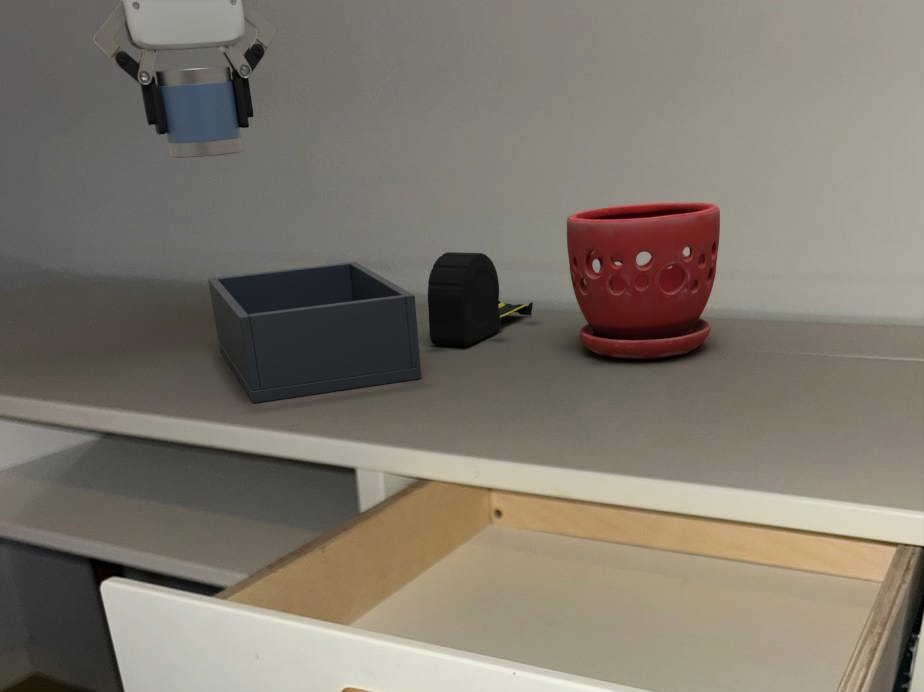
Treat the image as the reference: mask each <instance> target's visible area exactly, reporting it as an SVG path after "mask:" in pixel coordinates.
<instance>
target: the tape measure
mask: <svg viewBox="0 0 924 692" xmlns="http://www.w3.org/2000/svg"><path fill="white" fill-rule="evenodd" d="M427 284H428V285H427V305H428V308H427V309H428V326H429V328H428V329H429V338H430V339H429V340H430V342H431V344H433V345H444V346H456V347H457V346H459V347H460V346H461V347H469V346H471V345H473V344H474V343H477V342H478V341H480V340H483V339H484V338H487V337H491V336H494V335H496V334H498V333H499V332H500V331H501V328H502V324H501V323H502V322H501V318H503V317H505V316H507V315H512V314H513V313H518V314H519V315H520V316H532V312H533V306H534V303H533V302H529V304H528V303H525V304H523V303H518V304H512V303H506V302H505V303H504V302H501V301H500V282H499V277H498V272H497V268H496V267H495V264H494V262H493V260H492V259H491V258H490V257H489V256H488V255H487V254H485V253H482V252H460V251H459V252H458V251H457V252H455V251H448V252H447V251H446V252H444V253H443V254H441V255H439V257H438V258H437V259H436V260H435V261H434V264H433V265H432V269H431V270H430V273H429V277H428V281H427Z"/></svg>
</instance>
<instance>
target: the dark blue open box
mask: <svg viewBox="0 0 924 692" xmlns="http://www.w3.org/2000/svg"><path fill="white" fill-rule="evenodd" d="M207 281H208V287H209V293H210V299H211V304H212V305H211V306H212V311H213V317H214V322H215V329H216V334H217V339H218V346H219V352H220V353H221V355H222V356H223V358H224V359H225V361H226V363H227V364H228V366H229V368H230V369H231V370H232V372H233V374H234V375H235V376H236V379H237V380H238V381H239V383H240V385H241V387H243V389H244V391H245V393H246V394H247V396H248V397H249V399H250V400H251V402H252V404H258V403H265V402H272V401H278V400H285V399H292V398H298V397H299V398H300V397H305V396H306V397H307V396H312V395H319V394H326V393H332V392H333V393H334V392H339V391H346V390H353V389H360V388H367V387H374V386H379V385H380V386H381V385H387V384H394V383H400V382H407V381H414V380H415V381H416V380H421V379H422V369H421V357H420V345H419V344H420V343H419V332H418V320H417V308H416V296H415V295H414V294H413V293H411V292H409V291H408V290H406V289H405V288H402V287H400V286H399V285H397V284H395V283H393V282H392V281H390V280H388V279H386V278H385V277H383V276H381V275H380V274H378V273H376V272H374V271H373V270H371V269H369V268H368V267H366V266H364V265H362V264H361V263H359V262H357V261H350V262H341V263H332V264H323V265H314V266H306V267H298V268H287V269H279V270H270V271H262V272H254V273H253V272H251V273H244V274H235V275H228V276H217V277H210V278H207Z"/></svg>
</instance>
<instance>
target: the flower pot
mask: <svg viewBox="0 0 924 692" xmlns="http://www.w3.org/2000/svg"><path fill="white" fill-rule="evenodd" d="M720 233H721V209H720V207H719V206H718V205H716V204H714V203H707V202H658V203H642V204H641V203H639V204H630V205H629V204H627V205H617V206H608V207H601V208H594V209H589V210H584V211H579V212H575V213H573V214H570V215H569V216H568V217H567V218H566V245H567V246H566V248H567V254H568V255H567V256H568V264H569V275H570V280H571V284H572V289H573V292H574V296H575V298H576V302H577V304H578V307H579V309H580V312H581V313H582V315H583V317H584V320H585V321H586V322H587V324H585V325H583V327H581V329H580V331H579V339H580V341H581V343H582V344H583V345H584V346H585V347H586V348H587V349H588V350H590V351H591V352H593V353H594V354H595V353H596V354H597V356H599V357H609V358H610V357H611V358H618V359H626V360H627V359H628V360H646V359H649V360H650V359H651V360H652V359H660V358H668V357H674V356H678V355H681V356H682V355H688V354H689V352H690V351H693V350H694V349H696V348H697V347H699V346H700V345H702V344H703V342H705V341H706V339H707V338H708V336H709V335H710V333H711V323H710V322H709V321H707V320H705V319H703V318H701V316H702V314H703V313H704V310H705V308H706V306H707V304H708V301H709V299H710V297H711V294H712V290H713V287H714V283H715V279H716V275H717V274H716V273H717V262H718V254H719V245H720ZM686 248H688V249H689V254H687V255H685V254H684V253H683V252H684V251H685V249H686ZM643 252H645V253H649V255H650V258H649V260H648V261H647V262H646V263H643V264H638V262H637V258H638V255H639V254H640V253H643ZM595 260H597V261H598V262H599V270H598V272H596V271H595V269H594V266H593V264H594V261H595ZM617 263H620V264H617Z"/></svg>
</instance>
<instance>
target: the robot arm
mask: <svg viewBox="0 0 924 692" xmlns="http://www.w3.org/2000/svg"><path fill="white" fill-rule="evenodd" d="M246 23H247V24H248V25H249V26H251V27H252V28H253V29H254V30H255V36H254V39H253V41H252V42H251V44H250V45H249V46H248V48H247V49H246V51H245V52H244V53H243V52H242V50H241V49H240V46H239V45H238V44H239V43H240V42H241V41H242V40H243V39H244V38H245V36H246ZM123 27H124V29H125V34H126V38H127V41H128V42H129V44H130V46H132V47H133V48H135V49H138V50H139V51H140V54H139V58H138V61H137V60H136V59H134V58H133V57H132V56H131V55H130V54H129V53H127V51H125V50H124V49H123V48H122V47H121V46H120V45H119V44H118V42H116V37H117V34H119V32H120V31H121V30H122V28H123ZM277 33H278V28H277V26H276V25H275V24H274V23H272V21H271V20H270V19H268V18H267V17H266V16H264V14H262V13H261V12H260V11H259V10H258V9H256V8H255V7H254V6H253V5H252V4H251V3H250V2H248V1H247V0H119V4H117V6H116V8H114V10H113V11H112V12H111V14H110V15H109V16H108V18H107V19H106V20H105V22H104V23H103V24H102V25H101V27H100V28H99V29H98V30H97V31H96V33H95V34H94V36H93V42H94V43H95V45H96V46H97V47H98V48H99V49H100V50H101V51H102V52H104V54H106V55H107V56H108V57H109V58H110V59H111V61H113V62H114V63H115V64H116V65H117V66H118V67H119V68H120V69H122V70H123V71H124V72H125V73H126V74H127V75H128V76H129V77H131V78H132V79H133V80H134V81H135V82H136V83H137V84H138V85H140V90H141V95H142V96H141V97H142V101H143V105H144V106H143V107H144V111H145V117H146V122H147V125H148V126H153V125H154V127H155V133H156V134H157V135H166V132H167V126H166V121H165V115H164V110H163V104H162V98H161V93H160V87H159V86H158V85H157V81H156V76H154V73H155V69H156V64H157V60H158V56H159V54H160V52H165V51H181V50H197V49H198V50H199V49H213V48H214V49H215V48H218V50H219V51H220V53H221V55H222V56H223V58H224V59H225V61H226V63H227V65H228V67H230V70H231V71H230V72H231V78H232V82H233V88H234V95H235V101H236V108H237V115H238V122H239V128H240V129H241V128H242V129H247V128H248V129H249V128H250V124H249V123H250V122H249V118H254V108H253V102H252V101H253V100H252V95H251V94H252V93H251V88H250V87H251V85H250V79H249V78H250V77H251V76H252V73H253V71H255V69H256V67H257V65H259V63H260V62H261V60H262V59H263V57H264V55H265V53H266V52H267V50H268V48H269V47H270V46H271V44H272V42H273V41H274V38H275V37H276V35H277Z"/></svg>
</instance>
